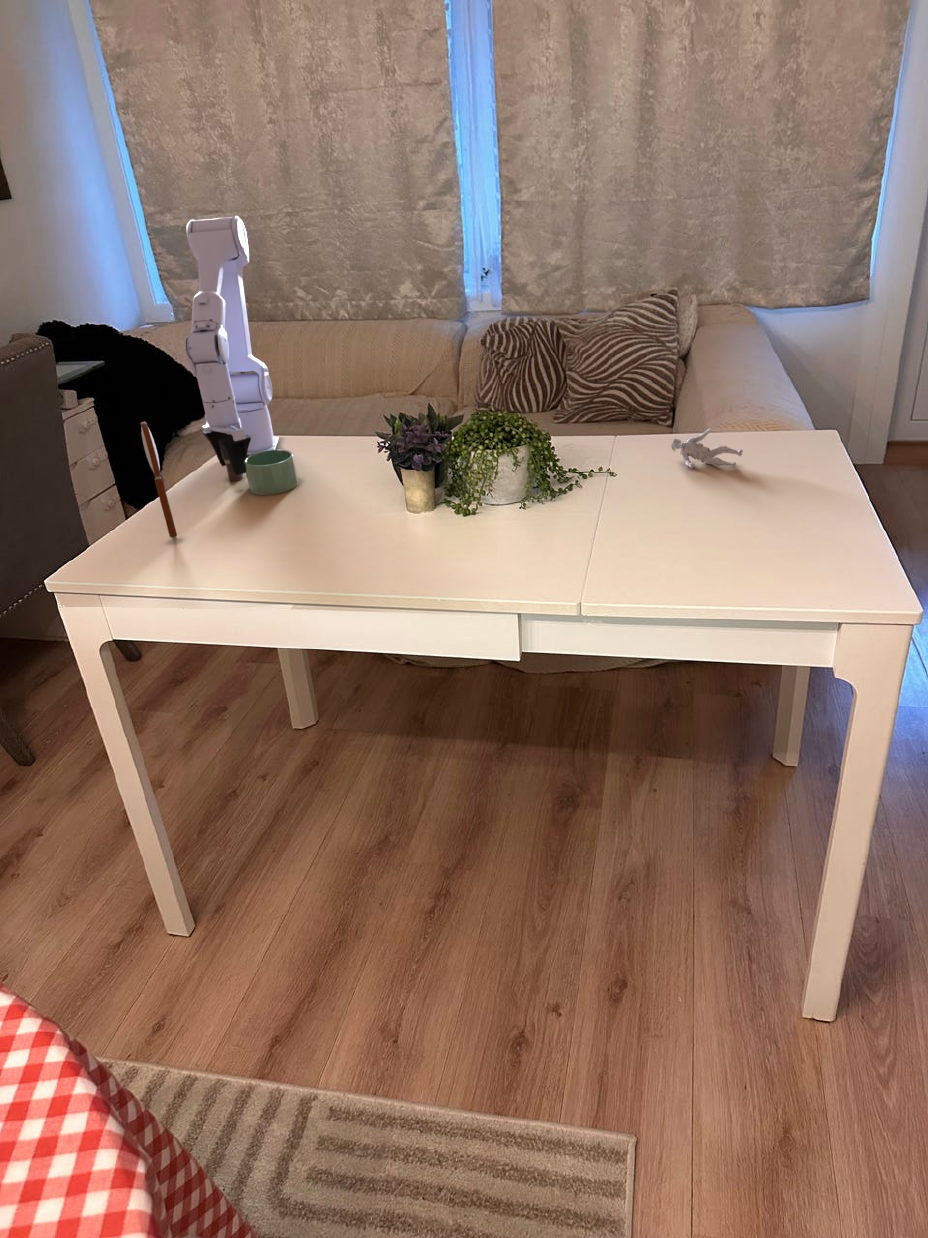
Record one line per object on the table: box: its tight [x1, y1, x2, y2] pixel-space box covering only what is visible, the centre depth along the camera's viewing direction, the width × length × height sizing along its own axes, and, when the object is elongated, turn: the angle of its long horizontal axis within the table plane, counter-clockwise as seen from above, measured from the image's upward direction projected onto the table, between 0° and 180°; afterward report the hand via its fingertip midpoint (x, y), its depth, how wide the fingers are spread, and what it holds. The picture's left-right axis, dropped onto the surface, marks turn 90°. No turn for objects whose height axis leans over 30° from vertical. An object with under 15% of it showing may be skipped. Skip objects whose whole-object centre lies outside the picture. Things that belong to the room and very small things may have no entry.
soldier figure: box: [670, 428, 744, 469], centre depth 159 cm, size 8×5×12 cm
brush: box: [220, 445, 244, 482], centre depth 173 cm, size 3×3×7 cm
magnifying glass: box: [140, 421, 178, 542], centre depth 145 cm, size 9×2×20 cm, turn 22°
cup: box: [244, 449, 299, 496], centre depth 168 cm, size 9×9×6 cm
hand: (233, 469), depth 174 cm, fingers open, 6 cm apart
